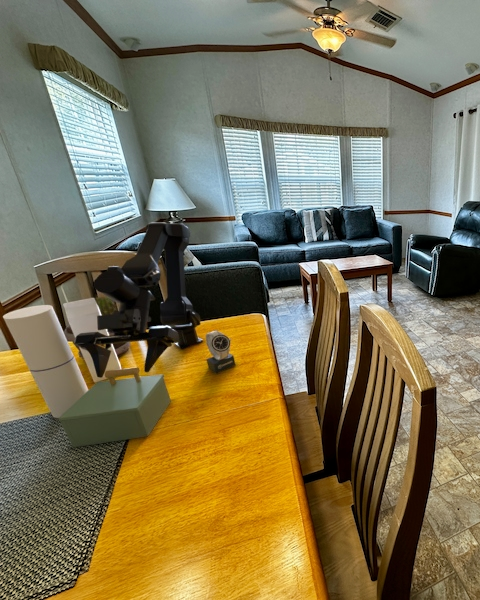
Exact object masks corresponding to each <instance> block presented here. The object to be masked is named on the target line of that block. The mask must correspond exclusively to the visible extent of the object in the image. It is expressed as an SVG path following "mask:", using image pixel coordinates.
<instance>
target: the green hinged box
mask: <svg viewBox="0 0 480 600" xmlns="http://www.w3.org/2000/svg"><path fill="white" fill-rule="evenodd" d="M164 378H165V377H164ZM164 378H163V379H162V380H161V382H160V383H159V384H158V385H157V387H156V388H155V389H154V391H153V392H152V393H151V395H150V396H149V397H148V398H147V400H146V401H145V402H144V404H143V405H142V406H141V407H140V409H139V410H138V411H130V412H123V413H115V414H108V415H100V416H93V417H85V418H78V419H70V420H63V421H60V420H59V421H60V424H61V426H62V429H63V430H64V432H65V434H66V436H67V438H68V441H69V442H70V444H71V446H72V448H78V447H85V446H92V445H98V444H105V443H112V442H119V441H125V440H133V439H139V438H147V437H149V436H150V434H151V433H152V431H153V430H154V428H155V427H156V425H157V424H158V422H159V420H160V419H161V417H162V416H163V414H164V413H165V411H166V410H167V408H168V407H169V406H170V404H171V403H172V399H171V397H170V394H169V391H168V388H167V384H166V382H165V379H164Z"/></svg>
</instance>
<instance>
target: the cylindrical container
mask: <svg viewBox="0 0 480 600" xmlns="http://www.w3.org/2000/svg"><path fill="white" fill-rule="evenodd" d="M2 318H3V320H4V322H5V324H6V327H7V328H8V331H9V332H10V334H11V336H12V338H13V340H14V342H15V344H16V346H17V348H18V350H19V352H20V354H21V357H22V358H23V360H24V362H25V364H26V366H27V368H28V370H29V372H30V374H31V376H32V378H33V379H34V382H35V384H36V386H37V388H38V390H39V392H40V394H41V396H42V398H43V400H44V402H45V404H46V406H47V408H48V410H49V412H50V414H51V416H52V417H53V418H55V419H59V417H60V416H62V415H63V414H64V413H65V412H66V411H67V410H68V409H69V408H70V407H71V406H72V405H73V404H74V403H75V402H76V401H78V400H79V399H80V398H81V397H82V396H83V395H84V394H85V393H86V392H87V391H88V390H89V388H88V386H87V383H86V381H85V378H84V376H83V374H82V371H81V370H80V367H79V365H78V362H77V361H76V358H75V356H74V353H73V351H72V348H71V346H70V344H69V341H67V339H66V337H65V335H64V330H63V328H62V326H61V323H60V321H59V318H58V315H57V313H56V312H55V309H54V307H53V305H52V304H51V305H50V304H39V305H33V306H28V307H22V308H18V309H15V310H11V311H9V312H8V313H5V314H4V315H3V316H2Z"/></svg>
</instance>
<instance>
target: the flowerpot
mask: <svg viewBox="0 0 480 600" xmlns="http://www.w3.org/2000/svg"><path fill="white" fill-rule="evenodd" d="M94 299H95V301H96V303H97V305H98V307H99V310H100V312H101V315H111V314H113V313H114V312H115V311H119V307H118V303H117V302H115V301H113V300H111V299H110V298H108V297H107V296H105V295H103V294H102V293H100V294H99V295H98V294H97V295H96V296H94ZM107 330H108V329H107ZM63 332H64V335H65V337H66V339H67V342H69V343H72V344H73V345H74V341H75V336H74V334H73V331H72V329H71V327H70V324H69V325H67V326H65V329H64V330H63ZM108 333H109V332H108ZM111 335H114V333H109V336H111ZM74 346H75V348H76V349H77V350H78V352H77V353H78V358H80V359H82V360H84V357H83V355H82V353H81V350H80V348H79V347H78V346H76V345H74ZM113 347H114V349H115V352H116V354H117V357H118V358H119V357H121V356H123V355H125V354H126V353H127V351H129V348H130V347H131V342H125V343H115V344H113Z"/></svg>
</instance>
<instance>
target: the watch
mask: <svg viewBox="0 0 480 600" xmlns="http://www.w3.org/2000/svg"><path fill="white" fill-rule="evenodd" d="M205 341H206V342H205V344H206V346H207V349H208V351H209V353H210V355H212V356H211V357H209V358H206V365H207V368H208V370H210V372H212V373H214V374H215V375H217V374H220V373H222V372H224V371H226V370H228V369H230V368H232V367H235V366H236V362H235V357H234V355H233V354H231V353H230V351H231V341H232V339H231V338H230V337H229V336H227V335H225V334H224V333H223V332H221V331H218V330H212V331H211V332H207V333H206V334H205Z"/></svg>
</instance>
